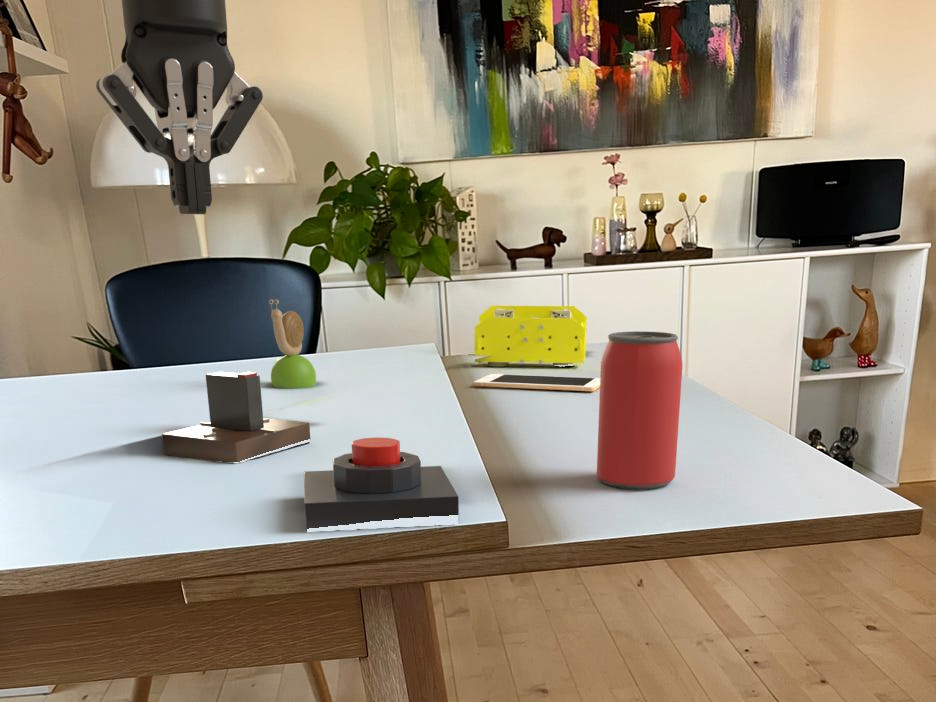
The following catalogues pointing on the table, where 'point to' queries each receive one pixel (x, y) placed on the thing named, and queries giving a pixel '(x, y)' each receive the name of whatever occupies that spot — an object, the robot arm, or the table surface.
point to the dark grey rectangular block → (235, 400)
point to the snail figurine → (290, 352)
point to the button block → (376, 492)
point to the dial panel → (233, 440)
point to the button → (375, 452)
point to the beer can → (639, 409)
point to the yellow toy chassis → (531, 335)
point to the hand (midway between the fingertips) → (192, 214)
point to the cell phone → (539, 382)
